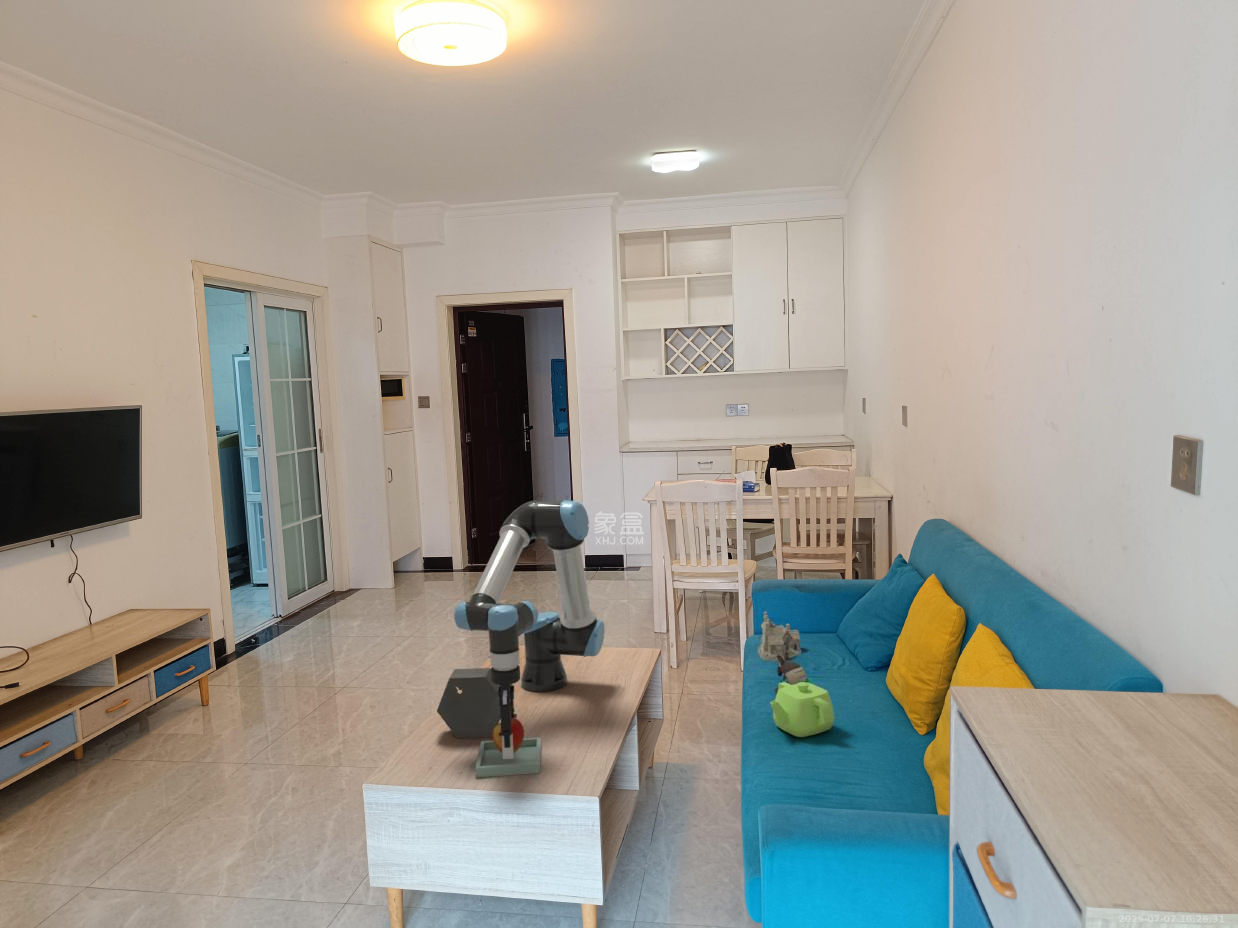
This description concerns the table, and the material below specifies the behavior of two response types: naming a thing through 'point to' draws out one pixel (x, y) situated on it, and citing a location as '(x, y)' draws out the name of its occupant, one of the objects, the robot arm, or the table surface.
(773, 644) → the ceramic cottage
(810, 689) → the teapot
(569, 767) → the table surface
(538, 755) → the dish
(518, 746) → the apple
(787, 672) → the figurine
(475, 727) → the grey hexagonal block
